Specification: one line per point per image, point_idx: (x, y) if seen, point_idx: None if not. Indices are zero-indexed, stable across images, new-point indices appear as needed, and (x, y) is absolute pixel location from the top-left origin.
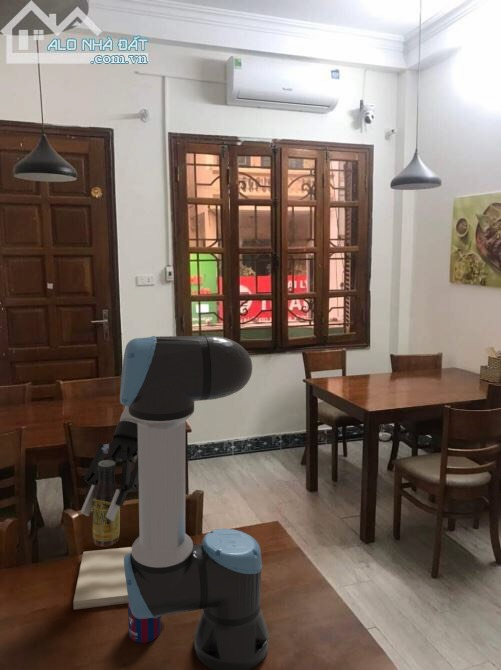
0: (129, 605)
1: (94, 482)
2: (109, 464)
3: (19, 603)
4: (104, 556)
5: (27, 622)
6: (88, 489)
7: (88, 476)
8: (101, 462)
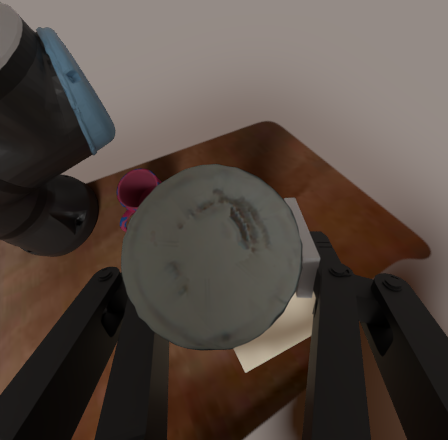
0: (153, 176)
1: (321, 278)
2: (162, 229)
3: (337, 191)
4: (286, 319)
5: (297, 168)
6: (329, 254)
7: (386, 293)
8: (268, 238)
